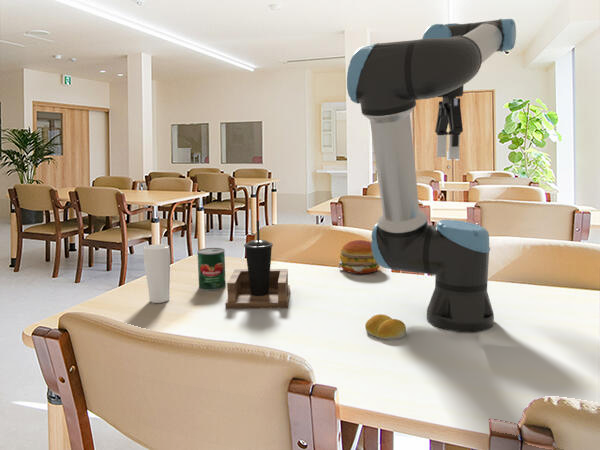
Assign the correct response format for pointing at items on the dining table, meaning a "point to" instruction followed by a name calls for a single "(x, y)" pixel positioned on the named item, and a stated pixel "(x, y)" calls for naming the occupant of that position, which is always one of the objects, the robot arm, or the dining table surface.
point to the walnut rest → (244, 300)
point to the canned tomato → (211, 269)
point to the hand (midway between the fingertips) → (447, 158)
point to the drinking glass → (157, 272)
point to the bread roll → (385, 327)
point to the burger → (358, 257)
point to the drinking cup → (258, 264)
